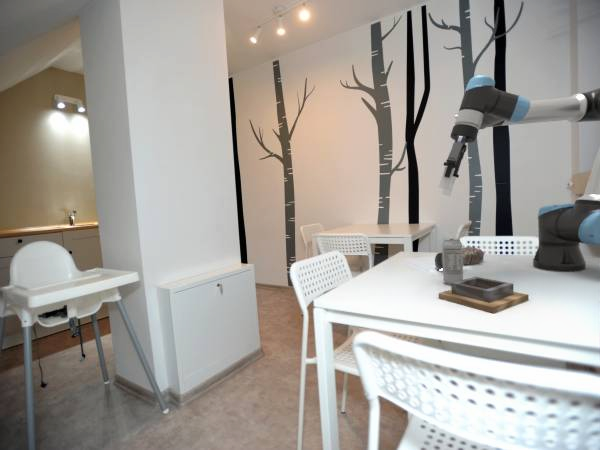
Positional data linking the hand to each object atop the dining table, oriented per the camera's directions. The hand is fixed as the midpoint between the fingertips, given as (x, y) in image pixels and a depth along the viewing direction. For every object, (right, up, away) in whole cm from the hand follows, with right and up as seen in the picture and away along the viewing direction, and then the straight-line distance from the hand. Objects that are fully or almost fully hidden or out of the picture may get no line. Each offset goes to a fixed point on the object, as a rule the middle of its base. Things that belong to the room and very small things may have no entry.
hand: (444, 191), depth 105 cm
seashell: (+24, -27, +32) cm, 48 cm away
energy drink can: (+5, -31, +4) cm, 31 cm away
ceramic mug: (+11, -29, +22) cm, 38 cm away
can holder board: (+5, -32, -13) cm, 35 cm away
